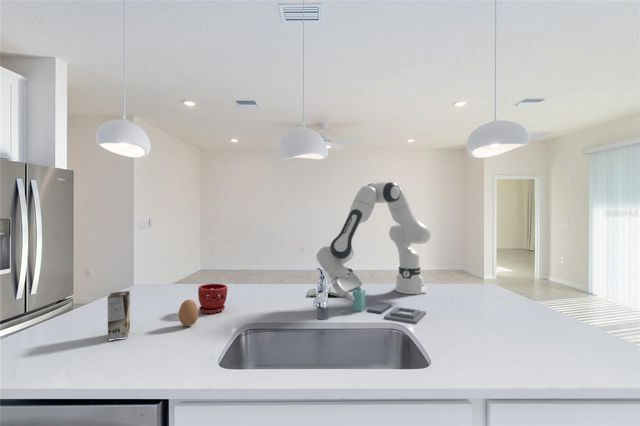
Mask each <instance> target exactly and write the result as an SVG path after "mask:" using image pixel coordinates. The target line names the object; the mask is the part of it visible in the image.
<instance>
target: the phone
mask: <svg viewBox="0 0 640 426" xmlns="http://www.w3.org/2000/svg"><path fill="white" fill-rule="evenodd" d="M392 305H393V304H389V303H381V302H377V303H375V304H374V305H372V306H371V307H369V308H368V309H367V310H366V312H367V313H373V314H380V315H382V314H384V313H385V312H386V311H388V309H391V308H392Z"/></svg>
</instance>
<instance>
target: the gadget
mask: <svg viewBox="0 0 640 426" xmlns="http://www.w3.org/2000/svg"><path fill="white" fill-rule="evenodd" d="M316 288H317V287H316ZM316 288H315V287H314V288H311V289H309V290H308V293H307V296H313V297H312V298H314V297H315V296H316V293H317V292H316ZM328 288H329V294H328V295H330V296H335V297H338V298H339V297H340V298H346V299H347V298H348V297H346V295H343V296H340V295H339V294H338V293H337V292H336V290H335V289H334V287H333V286H331V285H330V286H329V287H328ZM316 297H317V296H316ZM348 299H349V298H348Z"/></svg>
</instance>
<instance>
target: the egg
mask: <svg viewBox="0 0 640 426" xmlns="http://www.w3.org/2000/svg"><path fill="white" fill-rule="evenodd" d="M178 319H179V322H180V323H181V324H182V325H183V326H185V327H191V326H190V325H192V326H193V325H194V324H196V322H197V320H198V319H199V307H198V306H197V303H196V302H195V301H194V300H193V299H186V300H184V301H183V302H182V303H181V305H180V307H179V310H178Z"/></svg>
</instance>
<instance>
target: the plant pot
mask: <svg viewBox="0 0 640 426" xmlns="http://www.w3.org/2000/svg"><path fill="white" fill-rule="evenodd" d="M197 293H198V296H197V297H198V302H199V305H200V306H199V307H198V311H199V312H201V313H202V312H203V314H207V313H213V314H217V313H216V312H218V313H221V312H223V311H224V310H225V307H226V306H225V303H226V300H227V296H228V286H227V285H226V284H222V283H207V284H202V285H199V286H198V291H197ZM222 310H223V311H222ZM220 311H221V312H220Z"/></svg>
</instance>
